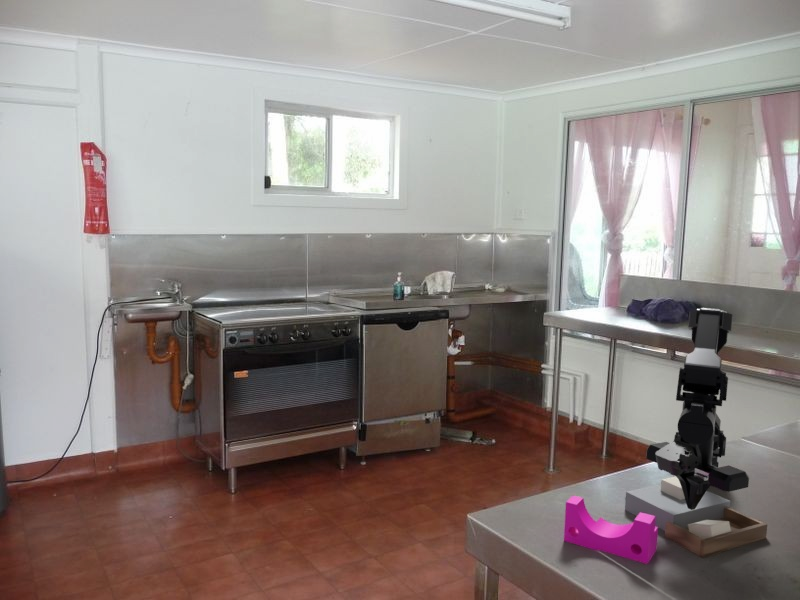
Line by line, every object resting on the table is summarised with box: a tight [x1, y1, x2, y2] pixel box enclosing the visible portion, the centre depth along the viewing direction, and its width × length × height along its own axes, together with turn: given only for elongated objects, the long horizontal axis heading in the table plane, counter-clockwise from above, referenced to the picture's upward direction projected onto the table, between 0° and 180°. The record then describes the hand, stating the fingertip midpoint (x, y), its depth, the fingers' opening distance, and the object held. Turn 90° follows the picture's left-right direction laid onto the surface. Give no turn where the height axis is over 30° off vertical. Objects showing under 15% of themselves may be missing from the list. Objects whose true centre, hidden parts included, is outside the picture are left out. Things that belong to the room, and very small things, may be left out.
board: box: [624, 483, 732, 532], centre depth 137 cm, size 12×16×4 cm
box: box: [664, 507, 768, 559], centre depth 127 cm, size 9×17×3 cm, turn 117°
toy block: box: [563, 495, 659, 565], centre depth 124 cm, size 15×6×8 cm, turn 56°
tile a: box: [688, 520, 731, 539], centre depth 125 cm, size 5×5×2 cm
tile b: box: [660, 476, 685, 500], centre depth 138 cm, size 5×5×2 cm
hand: (691, 508), depth 128 cm, fingers closed
